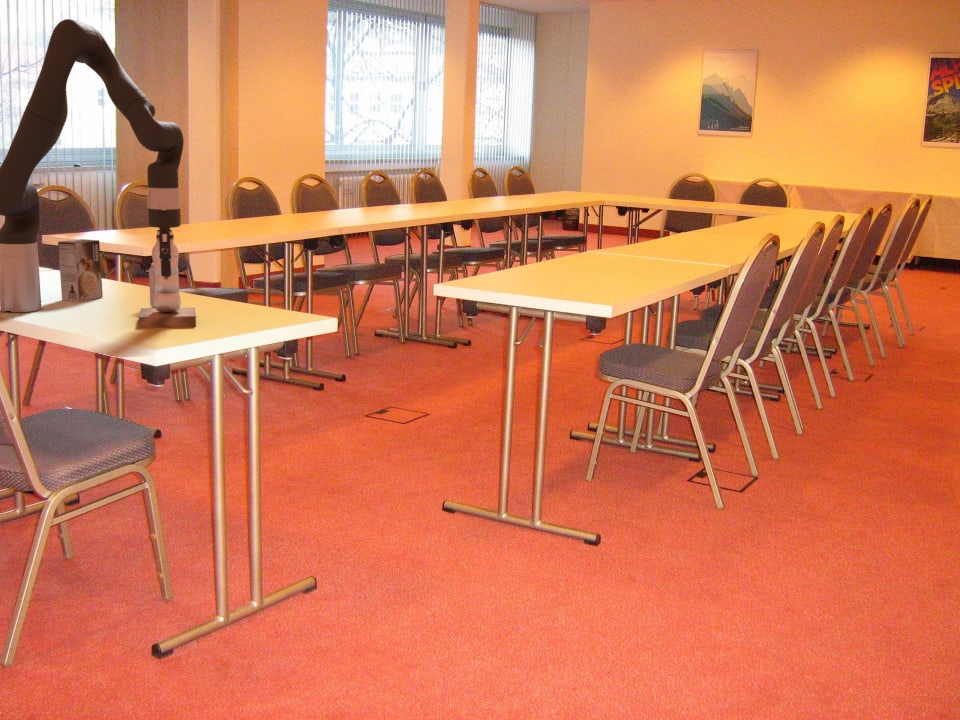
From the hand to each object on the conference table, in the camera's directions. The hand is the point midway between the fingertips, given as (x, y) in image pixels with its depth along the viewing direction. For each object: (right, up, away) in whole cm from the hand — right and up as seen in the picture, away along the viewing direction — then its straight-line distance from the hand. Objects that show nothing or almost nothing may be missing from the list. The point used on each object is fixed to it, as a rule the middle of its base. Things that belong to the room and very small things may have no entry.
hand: (166, 274), depth 243 cm
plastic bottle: (0, -9, +2) cm, 10 cm away
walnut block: (0, -12, +2) cm, 12 cm away
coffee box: (-33, -4, +33) cm, 47 cm away
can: (-8, -7, +23) cm, 25 cm away
